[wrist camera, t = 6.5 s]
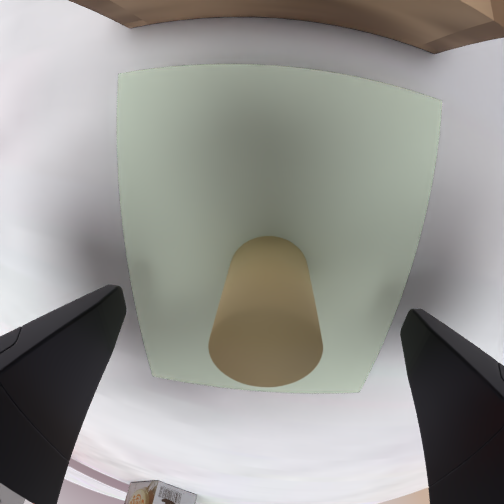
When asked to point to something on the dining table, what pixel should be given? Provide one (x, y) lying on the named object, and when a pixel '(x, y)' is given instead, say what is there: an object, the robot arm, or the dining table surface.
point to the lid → (270, 219)
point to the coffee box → (157, 494)
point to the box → (334, 16)
